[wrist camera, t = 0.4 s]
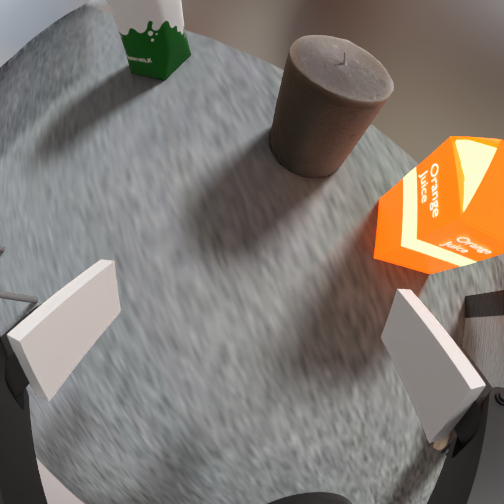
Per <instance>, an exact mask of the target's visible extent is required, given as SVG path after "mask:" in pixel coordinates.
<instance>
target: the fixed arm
mask: <svg viewBox="0 0 504 504" xmlns="http://www.w3.org/2000/svg"><path fill="white" fill-rule="evenodd" d="M462 348H463V349H465V351H466V352H467V353H468V355H469V356H470V357H471V358H470V359H472V360H473V361H474V363H475V366H477V367H478V368H479V369H480V371H481V372H482V373H483V375H484V376H485V378H486V379H487V381H488V382H489V383H490V385H491V386H492V388H494V387H503V388H504V290H501V291H496V292H490V293H483V294H477V295H470V296H466V303H465V323H464V335H463V345H462Z"/></svg>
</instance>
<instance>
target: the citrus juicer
mask: <svg viewBox="0 0 504 504" xmlns="http://www.w3.org/2000/svg"><path fill="white" fill-rule="evenodd" d="M0 252H4V247H2V246H0ZM0 298H3V299H10V300H16V301H23V302H31V303H37V301H38V299H37V297H33V296H27V295H21V294H15V293H9V292H3V291H0Z"/></svg>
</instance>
